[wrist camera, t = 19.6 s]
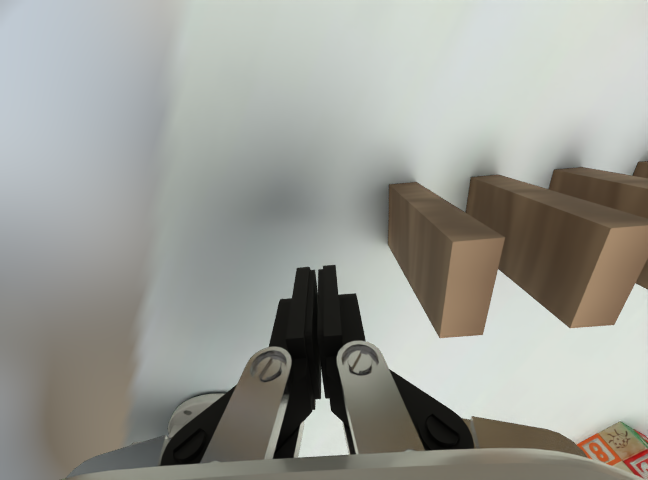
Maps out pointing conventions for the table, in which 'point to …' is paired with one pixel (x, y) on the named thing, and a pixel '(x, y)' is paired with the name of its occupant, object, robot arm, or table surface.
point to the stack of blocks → (619, 449)
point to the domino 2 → (563, 247)
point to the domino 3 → (606, 194)
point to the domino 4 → (641, 170)
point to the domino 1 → (444, 258)
